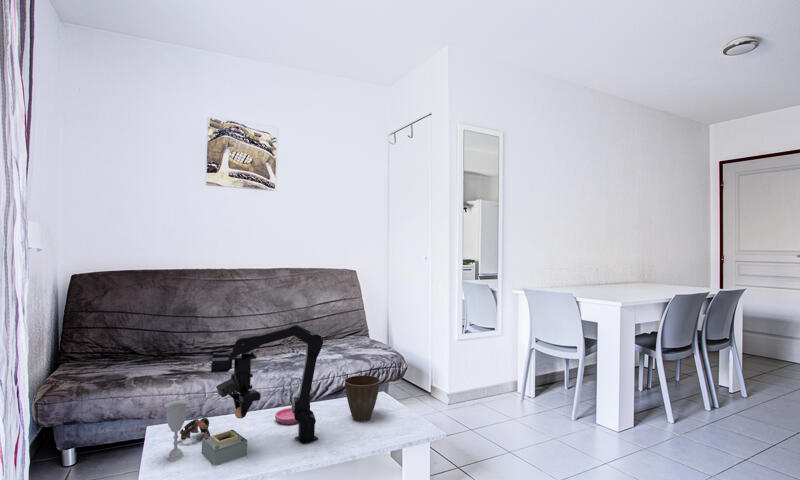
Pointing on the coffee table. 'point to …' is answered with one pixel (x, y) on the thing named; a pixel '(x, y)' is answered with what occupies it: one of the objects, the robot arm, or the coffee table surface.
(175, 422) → the chalice
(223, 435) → the grey box with opening
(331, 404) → the coffee table surface
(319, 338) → the robot arm
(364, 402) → the plant pot
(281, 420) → the saucer
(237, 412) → the bead
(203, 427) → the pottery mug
